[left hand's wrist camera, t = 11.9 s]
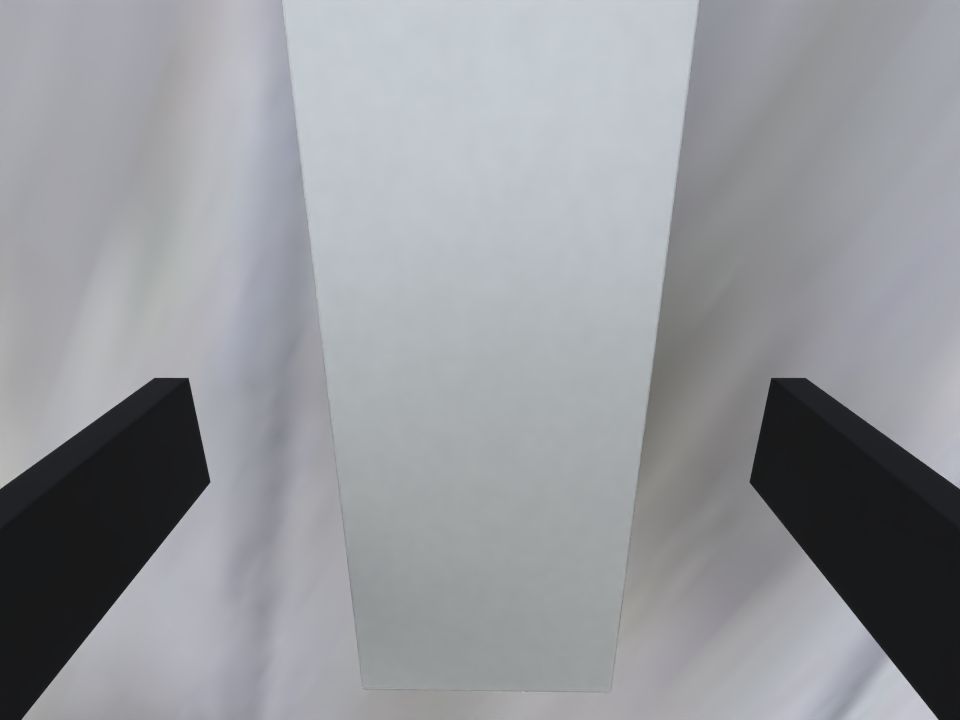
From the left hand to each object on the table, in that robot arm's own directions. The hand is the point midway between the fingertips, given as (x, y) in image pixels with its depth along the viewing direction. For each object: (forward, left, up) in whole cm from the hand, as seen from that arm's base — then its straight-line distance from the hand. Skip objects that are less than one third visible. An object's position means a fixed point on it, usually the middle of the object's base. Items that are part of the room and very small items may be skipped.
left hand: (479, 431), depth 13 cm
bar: (-2, +24, -5) cm, 25 cm away
